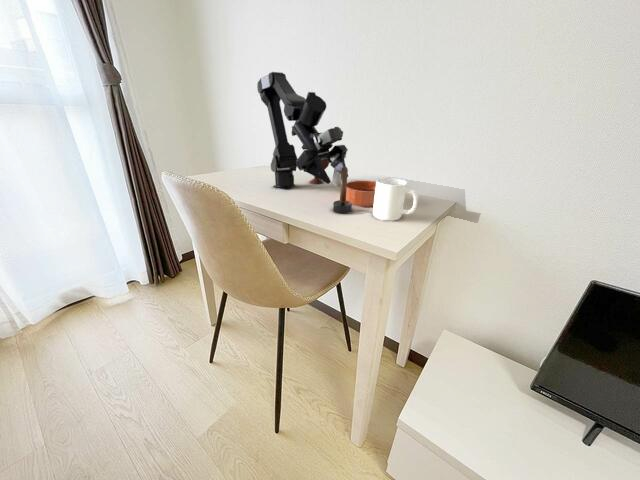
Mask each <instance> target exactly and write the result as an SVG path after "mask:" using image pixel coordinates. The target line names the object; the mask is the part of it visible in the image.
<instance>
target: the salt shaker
mask: <svg viewBox="0 0 640 480" xmlns="http://www.w3.org/2000/svg"><path fill="white" fill-rule="evenodd" d="M346 158H347V154H346V155H345V158H344V161H345V159H346ZM345 162H346V161H345ZM331 181H332V183H333V185H334V186H335V187H341V174H340V173H339V172H338V171H336V170H335V169H334V168H333V174H332V180H331Z"/></svg>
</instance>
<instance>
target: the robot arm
mask: <svg viewBox="0 0 640 480" xmlns="http://www.w3.org/2000/svg"><path fill="white" fill-rule="evenodd" d="M256 85H257V86H256V87H257V92H258V94H259V96H260V100H261V102H262V103H263V104H264V106H266V107H267V112H268V117H269V122H270V126H271V127H270V128H271V131H272V135H273V140H274V149H273V152H272V158H271V162H270V170H271V172H273V173H274V182H275V184H274V185H273V186H272V187H273V188H277V189H281V190H289V189H291V188H293V187H296V183H295V175H294V172H297V169H298V171H300V172H301V171H303V172H304V173H307V174H309V175H311V176H313V177H314V176H315V177H317V178H319V179H320V180H321V181H323V183H325V184H327V185H329V184H330V183H331V181H332V180H331V179H330V176H329V175H328V174H327V171H326V169H325V170H324V168H323V166H322V164H321V160H324V159H327V160H328V162H330V163H329V165H330V166H331V167H332V168H333V170H334V169H335V170H336V171H338V172H339V173H340V174H341V170H342V168H343V167H347V165H346V161H344V160H345V159H346V158H345V155H346V156H347V153H348V148H347V146H346V145H345V144H335V143H337V142H339V141H342V140H343V136H344V131H343V130H342V128H341V127H339V126H334V127H331V128H329V129H327V130H325V131H323V132H319V131H318V130H317V128H316V126H318V125H319V123H320V122H321V120H322V118H323V115H324V113H325V111H326V110H327V103H326V101H325V100H324V99H323V98H322V97H320V96H319V95H317V94H316V92H314V91H308V92H307V94H306V98H305V97H304V96H302V95H299V94H298V93H297V92H296V91H295V89H294V88H293V87H292V85H291V83H290V82H289V81H288V79H287V76H286V74H285V73H283V72H280V71H271V72H269V73H268V74H267V75H264V76H262V77H260V79H259V80H258V81H257V84H256ZM281 101H282V103H283V105H284V106H283V112H282V107H281ZM283 113H284V116H285V118H286V120H287V121H289V122H294V124H293V125H292V126H291V136H292V137H295V136H297V138H298V139H299V141H300V142H301V144H302V145H301V149H302V150H303V151H302V153H301V154H300V155H299V156H297V153H296V150H295V146H294V144H290V142H289V140H288V135H287V131H286V126H285V121H284V117H283ZM333 144H335V145H333ZM348 177H349V174H348V175H347V178H348Z"/></svg>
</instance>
